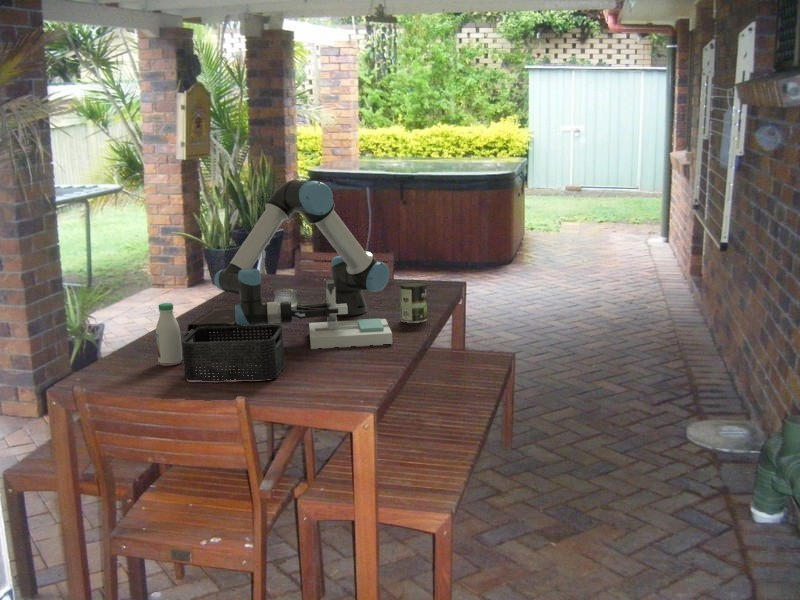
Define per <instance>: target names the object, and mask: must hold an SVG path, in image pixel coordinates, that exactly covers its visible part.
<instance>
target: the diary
mask: <svg viewBox="0 0 800 600" xmlns="http://www.w3.org/2000/svg"><path fill="white" fill-rule="evenodd" d="M220 326H241V325H238V324H237V323H236V318H235V307H231V308H230V307H228V308H217V309H215V308H212V309H210V310H208V311H207V312H206V313H204V314H202V315H201V316H199V317H198V318H196V319H195V320H194V321H192V322H190V323H188V324H187V332H188V331H190V330H191V329H193V330H194V329H196V328H201V327H220ZM242 326H243V325H242ZM213 330H214V329H213ZM229 332H231V331H229Z"/></svg>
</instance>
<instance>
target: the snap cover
mask: <svg viewBox="0 0 800 600" xmlns="http://www.w3.org/2000/svg"><path fill="white" fill-rule="evenodd" d="M380 319H381V318H362V319H361V318H360V319H357V320H358V325H359V328H360V331H361V332H371V331H384V327H383V325H382V323H381V320H380Z"/></svg>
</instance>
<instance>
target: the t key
mask: <svg viewBox="0 0 800 600" xmlns="http://www.w3.org/2000/svg"><path fill="white" fill-rule="evenodd" d="M325 292H326V293H325V295H326V302H327V308H329V307H336V294H335V287H334V280H332V279H326V287H325ZM326 318H327V320H326V322H328V330H337V321H338V317H337V315H329V317H326Z"/></svg>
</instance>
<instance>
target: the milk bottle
mask: <svg viewBox="0 0 800 600" xmlns="http://www.w3.org/2000/svg"><path fill="white" fill-rule="evenodd" d="M158 312H159V315H158V317H159V318H158V320H157V323H156V327H155V338H156V340H155V341H156V351H157V361H158V362H160V363H175V362H179V361H181V360H183V346H182V337H181V336H182V335H181V330H180V324H179V322H178V321H177V319H176V317H175V315H174V303H172V302H163V303H159V304H158Z"/></svg>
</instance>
